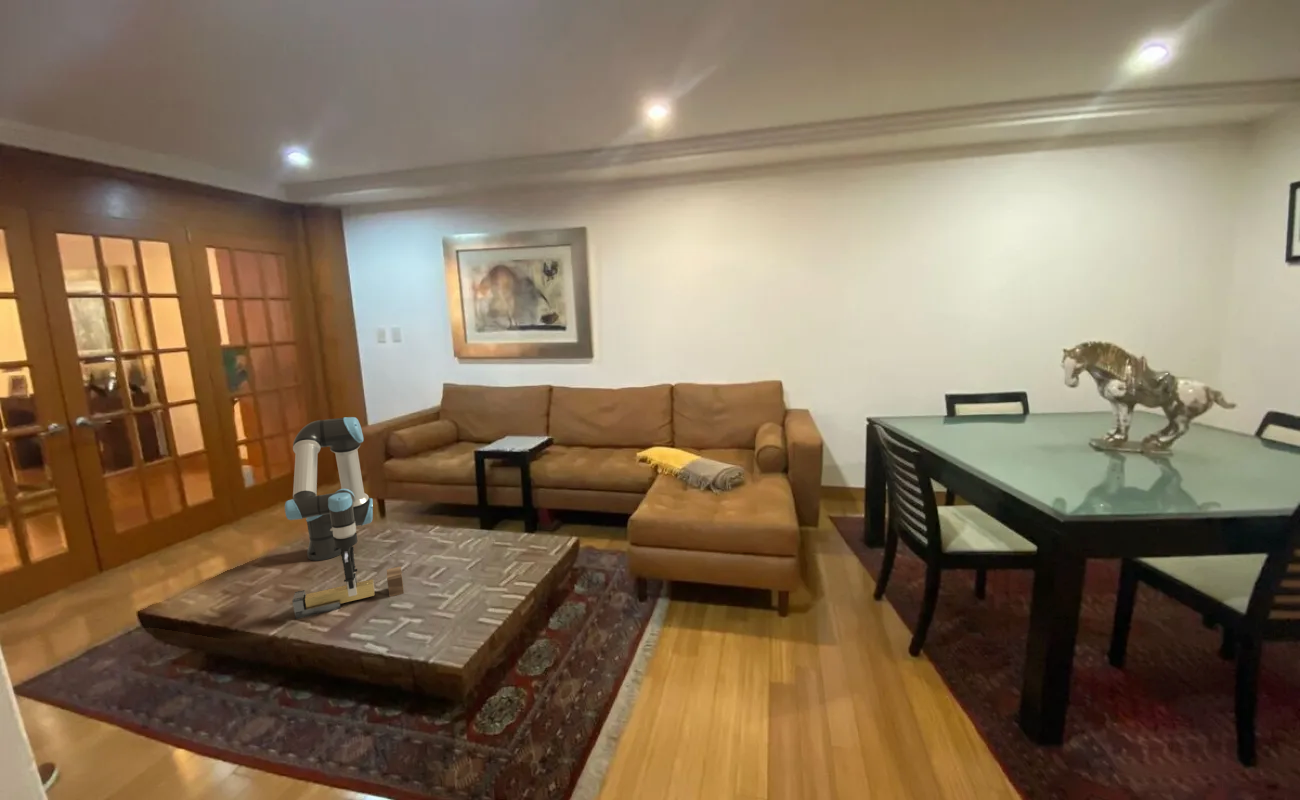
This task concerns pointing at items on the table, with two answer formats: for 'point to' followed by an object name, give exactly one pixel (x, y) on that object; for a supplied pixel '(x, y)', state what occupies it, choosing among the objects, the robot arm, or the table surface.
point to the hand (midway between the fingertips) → (353, 592)
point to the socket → (395, 581)
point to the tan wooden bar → (340, 594)
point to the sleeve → (303, 612)
